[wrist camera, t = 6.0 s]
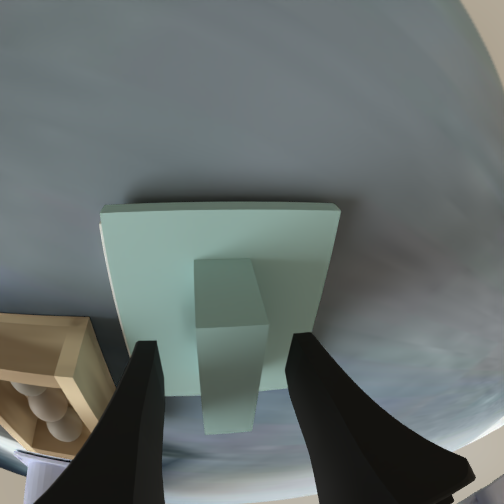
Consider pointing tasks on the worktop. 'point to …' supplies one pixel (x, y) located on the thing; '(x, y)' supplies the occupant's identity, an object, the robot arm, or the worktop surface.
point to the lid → (219, 293)
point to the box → (51, 382)
